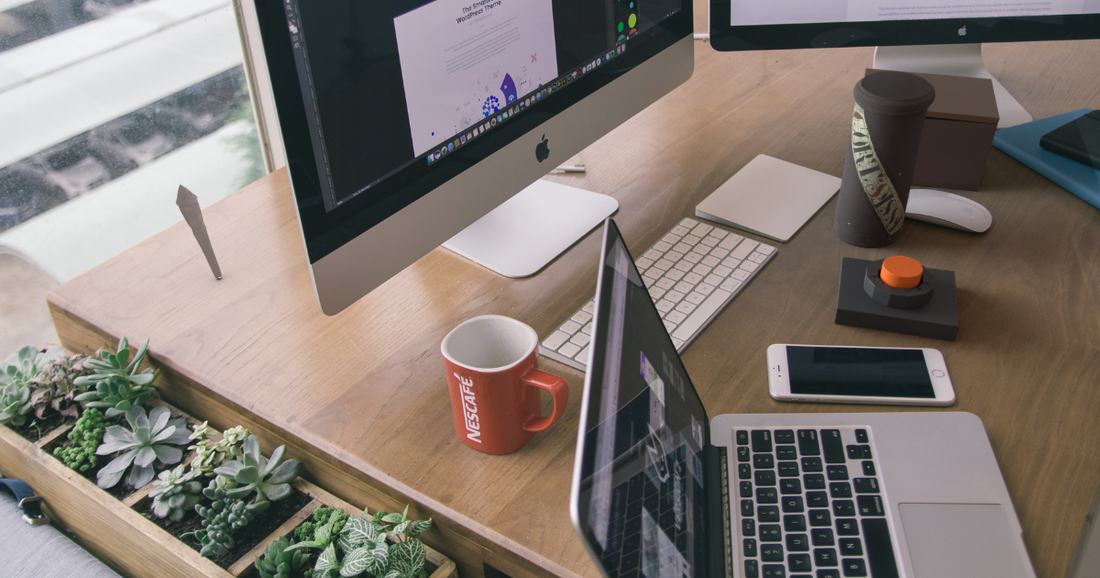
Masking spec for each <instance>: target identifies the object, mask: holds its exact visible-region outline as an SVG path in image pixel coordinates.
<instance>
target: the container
mask: <svg viewBox="0 0 1100 578" xmlns="http://www.w3.org/2000/svg"><path fill="white" fill-rule="evenodd" d="M895 71H896V70H893V71H887V72H877V73H873V74H870V75H867V76H865V77H864V76H863V77H862V78H861V79H859V80H858V81H857V82H856V83H855V84H854V86H853V92H852V93H853V98H854V107H853V114H852V120H851V126H850V132H849V136H848V143H847V148H846V153H845V160H844V166H843V170H842V175H841V176H842V177H841V182H840V187H839V192H838V196H837V198H838V199H837V202H836V206H835V212H834V216H833V217H834V218H833V224H832V228H833V232H834V234H835V235H836V236H837V237H838V238H839V239H840V240H842V241H843V242H845V243H847V244H849V245H853V246H856V247H863V248H879V247H884V246H889V245H891V244H893V243H894V242H896V241H898V239H899V238H900V236H901V234H902V230H903V227H904V223H905V217H906V212H907V207H908V202H909V198H910V193H911V188H912V185H911V183H912V179H913V174H914V169H915V165H916V160H917V155H918V150H919V145H920V140H921V136H922V132H923V127H924V123H925V118H926V114H927V109H928V108H929V106H930V105H931V104H932V103H933V101H934V99H935V96H936V94H935V89H934V87H933V86H932V85H931V84H930V83H929V82H928V81H927V80H925V79H924V78H922V77H919V76H917V75H914V74H910V73H904V72H905V71H904V72H895Z"/></svg>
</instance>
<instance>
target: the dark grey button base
mask: <svg viewBox="0 0 1100 578" xmlns="http://www.w3.org/2000/svg"><path fill="white" fill-rule="evenodd" d="M885 259H886V258H882V259H876V260H870V259H862V258H855V257H847V256H842V257H841V263H840V268H839V274H838V282H837V293H836V301H835V302H836V303H835V313H834V321H833V323H834V325H841V326H846V327H847V326H848V327H854V328H861V329H868V330H873V331H880V332H886V333H887V332H888V333H894V334H900V335H907V336H911V337H912V336H913V337H919V338H925V339H926V338H927V339H931V340H932V339H933V340H939V341H945V342H952V343H954V342H955V341H956V338H957V334H958V331H959V329H960V323H959V322H960V321H959V308H958V298H957V297H958V296H957V295H958V294H957V285H956V273H955V270H949V269H941V268H934V267H933V268H932V267H927V266H925V265H923V264H921V265H922V267H923V271H922V275H921V279H920V283H919V285H918V286H917V287H916V288H912V289H907V290H906V289H898V288H893V287H891V286H889V285H887V284H885V283H883V282H882V280H881V278H880V274H881V270H882V265H883V262H884V260H885Z"/></svg>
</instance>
